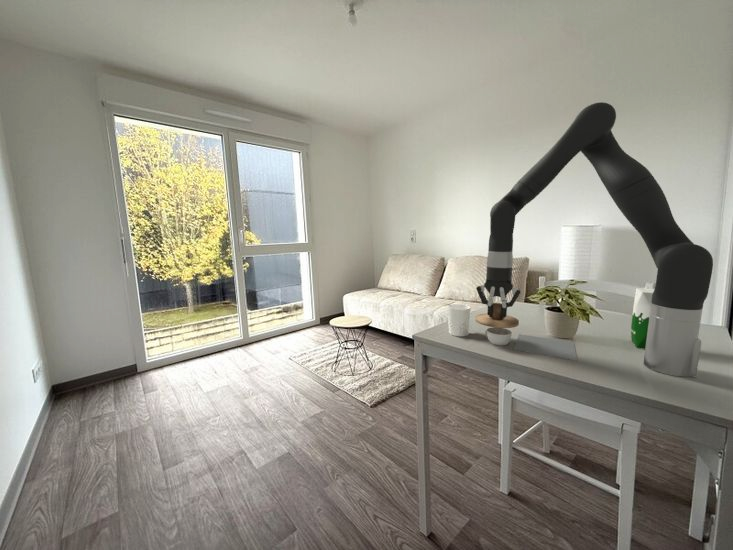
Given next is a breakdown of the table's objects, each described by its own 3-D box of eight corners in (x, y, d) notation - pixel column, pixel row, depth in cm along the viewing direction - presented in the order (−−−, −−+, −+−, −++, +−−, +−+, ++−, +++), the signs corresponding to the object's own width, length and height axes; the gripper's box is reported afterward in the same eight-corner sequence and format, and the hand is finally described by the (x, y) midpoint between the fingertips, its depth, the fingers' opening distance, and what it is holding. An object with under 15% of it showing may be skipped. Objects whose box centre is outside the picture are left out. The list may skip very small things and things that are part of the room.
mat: (573, 343, 97) (573, 342, 97) (577, 362, 84) (577, 360, 84) (518, 335, 106) (518, 333, 106) (513, 351, 92) (513, 349, 92)
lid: (520, 319, 101) (521, 302, 100) (516, 330, 90) (517, 311, 89) (479, 314, 107) (480, 298, 107) (471, 324, 96) (472, 305, 96)
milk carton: (673, 354, 89) (682, 287, 86) (633, 348, 93) (640, 285, 90) (663, 344, 96) (671, 283, 93) (626, 339, 101) (633, 280, 98)
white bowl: (521, 346, 96) (522, 332, 96) (501, 353, 92) (502, 338, 91) (495, 337, 105) (495, 324, 104) (475, 342, 100) (476, 329, 99)
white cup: (444, 335, 107) (445, 308, 106) (449, 328, 114) (450, 303, 113) (467, 338, 103) (468, 310, 102) (471, 331, 110) (472, 305, 109)
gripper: (525, 265, 95) (521, 317, 98) (478, 263, 103) (476, 312, 105) (523, 267, 89) (519, 324, 92) (474, 265, 96) (471, 317, 99)
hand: (496, 317), depth 98 cm, fingers closed on lid, 3 cm apart
